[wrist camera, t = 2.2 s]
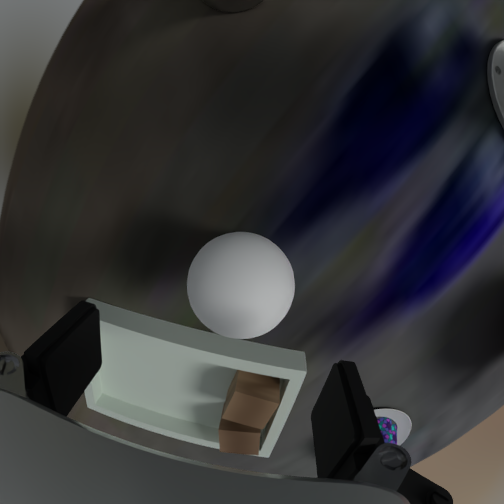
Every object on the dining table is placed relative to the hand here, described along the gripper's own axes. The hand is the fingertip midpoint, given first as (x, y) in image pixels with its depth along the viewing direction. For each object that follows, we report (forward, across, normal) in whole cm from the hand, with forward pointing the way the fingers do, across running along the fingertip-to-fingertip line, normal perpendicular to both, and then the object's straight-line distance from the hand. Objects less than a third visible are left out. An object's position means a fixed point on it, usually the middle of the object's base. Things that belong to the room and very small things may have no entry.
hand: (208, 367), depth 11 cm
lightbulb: (+15, -1, -1) cm, 15 cm away
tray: (+15, +3, +15) cm, 22 cm away
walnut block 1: (+14, -4, +13) cm, 20 cm away
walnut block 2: (+14, -4, +18) cm, 23 cm away
